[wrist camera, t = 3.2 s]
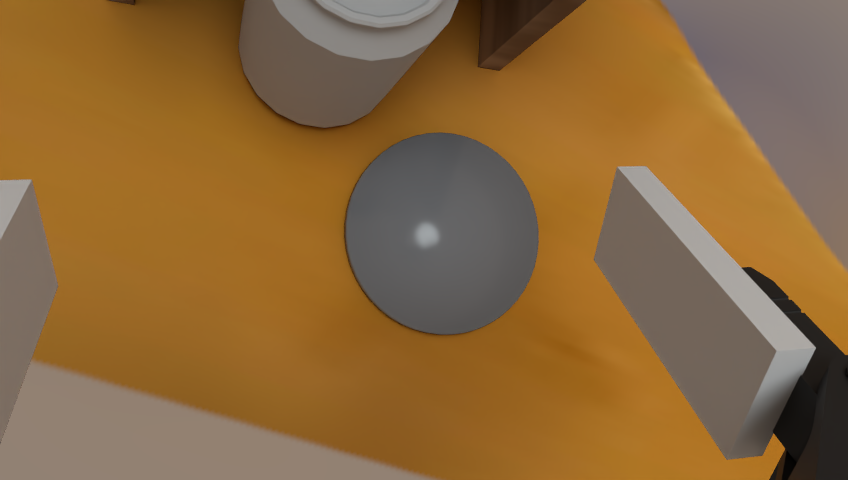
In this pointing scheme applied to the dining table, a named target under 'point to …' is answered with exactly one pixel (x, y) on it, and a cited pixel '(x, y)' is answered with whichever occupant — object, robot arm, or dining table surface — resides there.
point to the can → (334, 52)
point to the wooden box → (510, 26)
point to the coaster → (441, 233)
